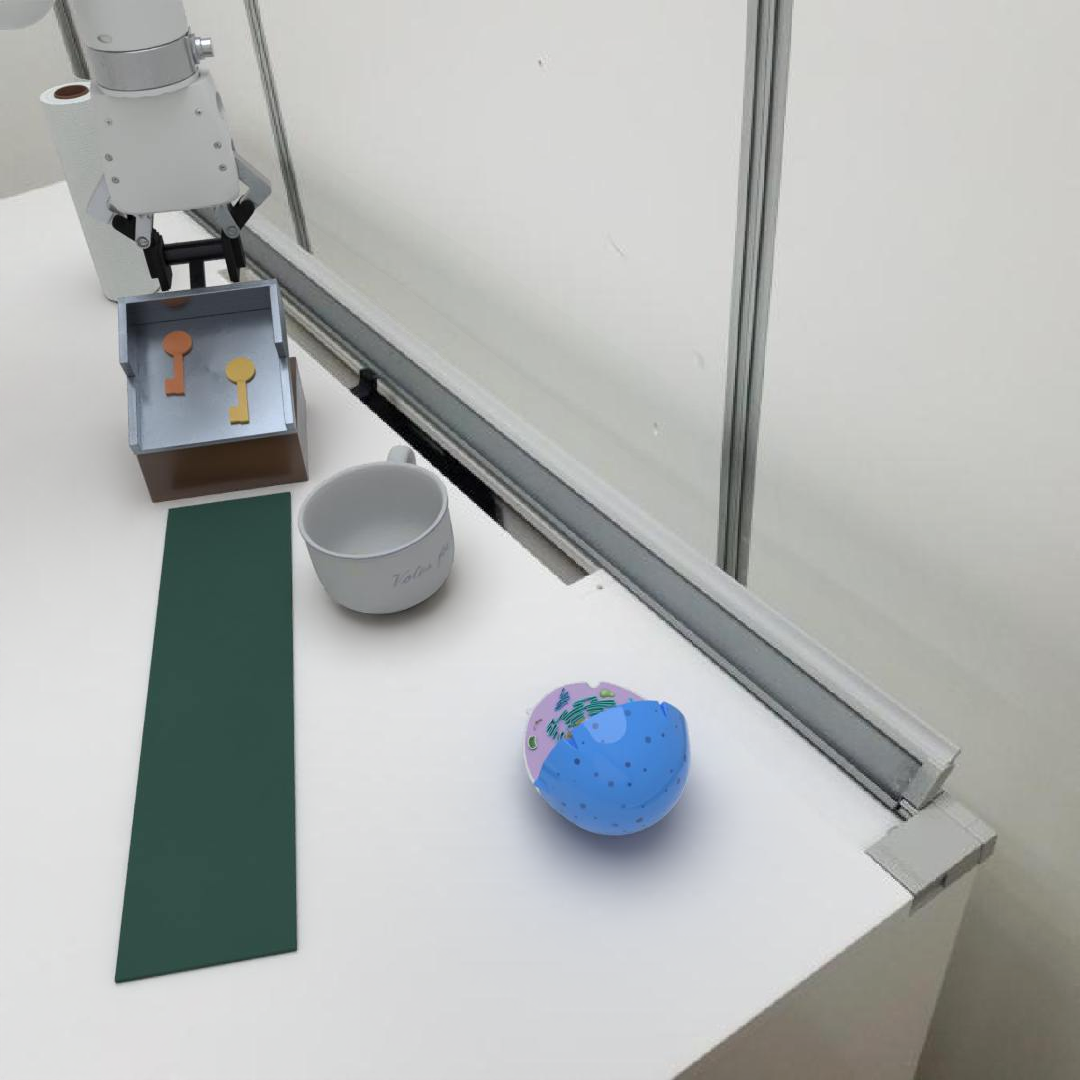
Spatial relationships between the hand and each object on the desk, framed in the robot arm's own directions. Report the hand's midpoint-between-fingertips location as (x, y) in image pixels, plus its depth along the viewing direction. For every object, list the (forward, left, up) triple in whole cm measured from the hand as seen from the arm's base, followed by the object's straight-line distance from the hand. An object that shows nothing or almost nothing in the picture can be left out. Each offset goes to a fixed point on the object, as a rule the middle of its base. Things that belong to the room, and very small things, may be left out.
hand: (201, 277), depth 98 cm
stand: (+1, -8, -13) cm, 15 cm away
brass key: (+4, -9, -6) cm, 11 cm away
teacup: (+17, -24, -13) cm, 32 cm away
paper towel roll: (-16, +23, -13) cm, 31 cm away
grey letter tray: (+1, -5, -4) cm, 7 cm away
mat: (+6, -35, -13) cm, 38 cm away
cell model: (+32, -45, -13) cm, 57 cm away
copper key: (-1, -7, -4) cm, 8 cm away
